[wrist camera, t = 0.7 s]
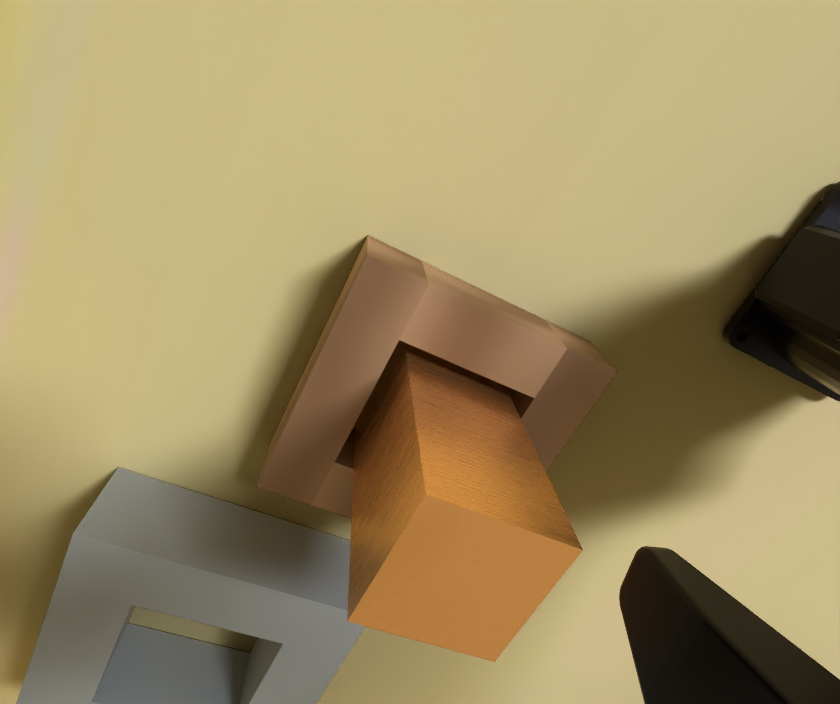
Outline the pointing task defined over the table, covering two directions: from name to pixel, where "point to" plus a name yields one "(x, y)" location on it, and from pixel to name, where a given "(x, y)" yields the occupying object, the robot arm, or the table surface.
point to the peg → (450, 510)
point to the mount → (434, 333)
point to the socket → (191, 604)
